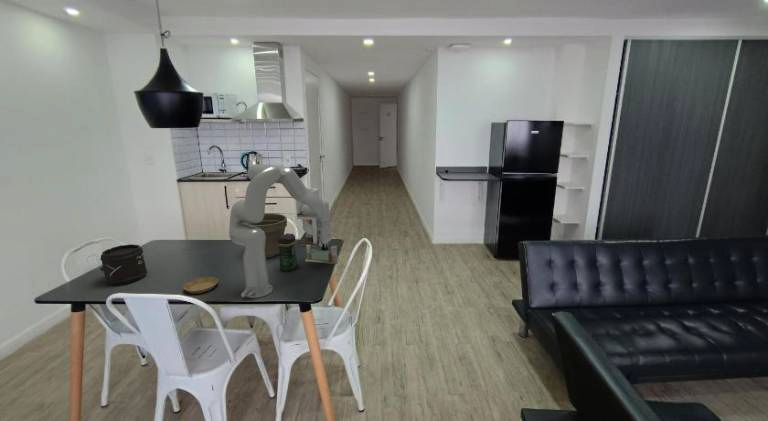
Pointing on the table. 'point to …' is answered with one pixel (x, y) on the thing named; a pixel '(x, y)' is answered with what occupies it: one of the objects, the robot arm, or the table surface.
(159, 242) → the table surface
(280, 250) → the coffee jar
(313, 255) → the gate
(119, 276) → the black round bag
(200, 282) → the plant saucer
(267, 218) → the plant pot
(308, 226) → the display case
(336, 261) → the gate frame
